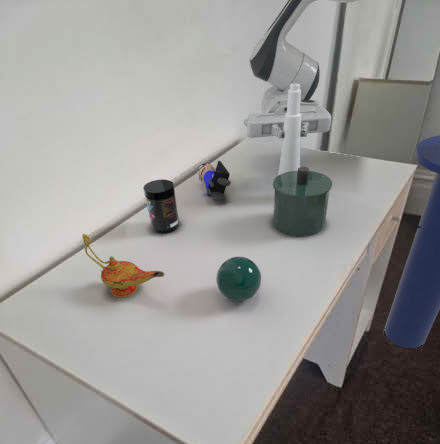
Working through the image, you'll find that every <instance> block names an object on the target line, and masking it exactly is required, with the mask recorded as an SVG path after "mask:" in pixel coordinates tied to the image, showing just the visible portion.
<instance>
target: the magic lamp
mask: <svg viewBox="0 0 440 444" xmlns="http://www.w3.org/2000/svg"><path fill="white" fill-rule="evenodd" d="M81 236H82V240H83V243H84V245H85V247H84V252H85V254H86V256H87V257H89V258H90V259H91V260H92V261H93V262H94V263H95V264H97V265H98V266H99V267H100V268H102V269H101V270H100V272H101V273H100V279H101V282H102V283H103V284H104V285H106V286H107V287H110V288H111V289H110V292H111V295H112V296H113V297H115V298H120V299H121V298H127V297H130V296H132V295H133V294H135V293H136V291H137V290H138V285H141V284H144V283H146V282H148V281H150V280H152V279H154V278H163V277H164V276H165V272H163V271H161V270H150V271H149V270H147V271H146V270H143V269H142V268H139V266H137V265H136V264H135V263H134V262H132V261H127V260H116V259H115V257H114V256H112V255H111V256H109V260H107V261H103V260H102V259H101V258H100V257H98V256H97V255H96V253H95V252H94V250H93V249H92V248H91V246H90V244H91V243H90V242H91V237H90V236H89V235H88V234H86V233H82V235H81ZM88 249H89V250H90V252H91V254H92V255H93V256H94V257H92V255H91V254H89V253H88ZM96 259H97V260H98V261H97V260H96ZM103 264H106V266H105V265H103Z"/></svg>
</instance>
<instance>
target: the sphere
mask: <svg viewBox="0 0 440 444" xmlns="http://www.w3.org/2000/svg"><path fill="white" fill-rule="evenodd" d="M215 280H216V285H217V288H218V290H219V292H220V294H222V296H223V297H224V298H226V299H227V300H230V301H233V302H245V301H248V300H251V299H252V298H253V297H254V296H255V295H256V294H257V293H258V291H259V290H260V288H261V286H262V285H261V283H262V274H261V271H260V269H259V267H258V265H257V264H256V263H255V262H254V261H253V260H251V259H250V258H248V257H245V256H232V257H230V258H227V259H226V260H225V261H224V262H222V264H221V265H220V266H219V268H218V269H217V273H216V279H215Z"/></svg>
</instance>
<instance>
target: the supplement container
mask: <svg viewBox="0 0 440 444" xmlns="http://www.w3.org/2000/svg"><path fill="white" fill-rule="evenodd" d="M142 188H143V193H144V197H145V201H146V207H147V211H148V216H149V221H150V225H151V228H152V230H153V231H154V232H156V233H158V234H167V233H171V232H174V231H176V230H177V229H178V228H179V226H180V219H179V212H178V211H179V210H178V205H177V200H176V193H175V192H176V191H175V185H174V182H173V181H172V180H170V179H154V180H151V181H149V182H146V183H145V184H144V185H143V187H142Z"/></svg>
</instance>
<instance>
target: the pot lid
mask: <svg viewBox="0 0 440 444" xmlns="http://www.w3.org/2000/svg"><path fill="white" fill-rule="evenodd" d="M272 188H273V190H274V191H275V190H276V191H277V192H278V193H280V194H283V195H285V196H289V197H294V198H312V197H317V196H321V195H324V194H326V193H327V192H329V193H330V191H331V190H332V189H333V181H332V179H331V178H330V177H329V176H328V175H326V174H324V173H321V172H317V171H313V170H310V168H309V166H308V167H307V166H300V167H299V168H298V170H297V171H290V172H286V173H283V174H280V175H279V176H278V175H277V176H276V177H275V178H273V180H272Z"/></svg>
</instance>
